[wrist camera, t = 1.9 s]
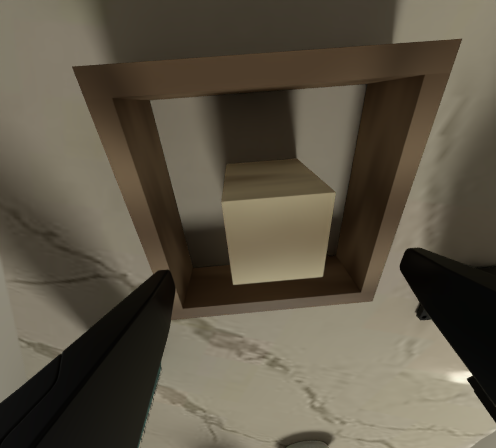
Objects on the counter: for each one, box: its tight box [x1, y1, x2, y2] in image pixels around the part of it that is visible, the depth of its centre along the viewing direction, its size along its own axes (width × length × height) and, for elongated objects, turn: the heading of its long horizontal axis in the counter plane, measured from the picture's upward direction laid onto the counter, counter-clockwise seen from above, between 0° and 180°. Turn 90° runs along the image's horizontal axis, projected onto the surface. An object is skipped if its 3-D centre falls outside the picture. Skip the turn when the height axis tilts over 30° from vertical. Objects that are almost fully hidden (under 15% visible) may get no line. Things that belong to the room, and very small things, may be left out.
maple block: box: [221, 158, 336, 285], centre depth 12 cm, size 4×4×6 cm
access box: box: [72, 39, 462, 320], centre depth 13 cm, size 14×14×4 cm
